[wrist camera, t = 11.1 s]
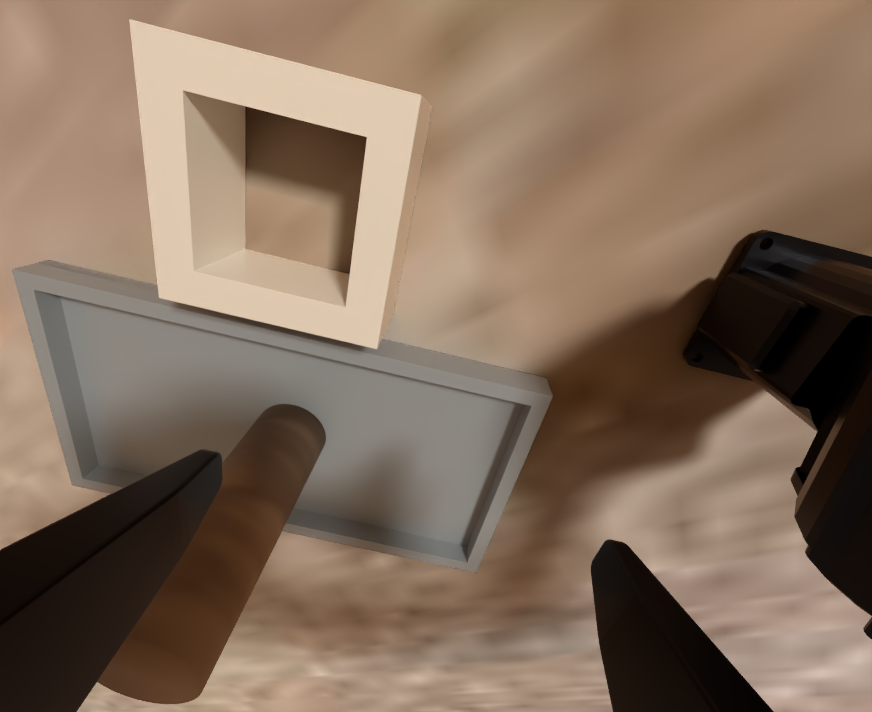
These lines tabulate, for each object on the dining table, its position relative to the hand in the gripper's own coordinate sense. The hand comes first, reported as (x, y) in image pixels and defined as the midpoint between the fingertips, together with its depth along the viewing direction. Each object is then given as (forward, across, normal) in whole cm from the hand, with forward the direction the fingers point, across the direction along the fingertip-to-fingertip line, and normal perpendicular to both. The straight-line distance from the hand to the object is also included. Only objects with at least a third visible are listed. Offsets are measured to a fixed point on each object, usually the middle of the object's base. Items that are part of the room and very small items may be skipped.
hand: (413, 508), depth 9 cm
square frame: (+12, +7, -4) cm, 14 cm away
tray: (+12, +7, +9) cm, 17 cm away
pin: (+11, +7, +9) cm, 16 cm away
